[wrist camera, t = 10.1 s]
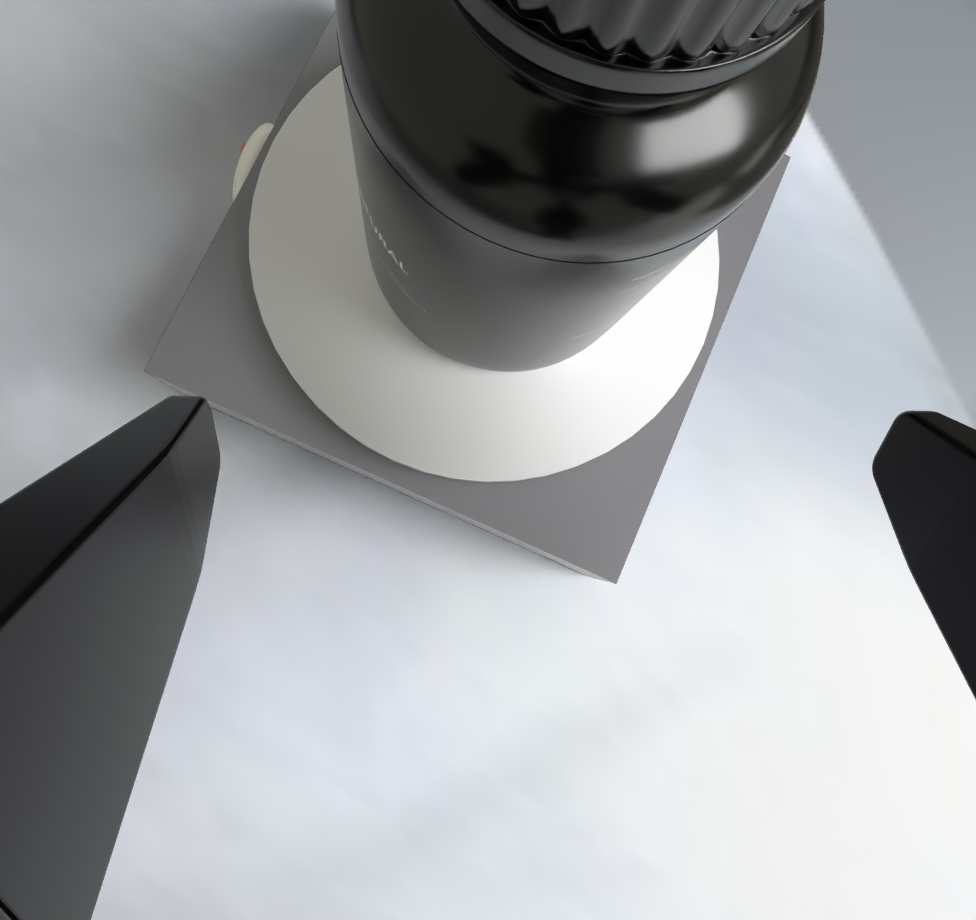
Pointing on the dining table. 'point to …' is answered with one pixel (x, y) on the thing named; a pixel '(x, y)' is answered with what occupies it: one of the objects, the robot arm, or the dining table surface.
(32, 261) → the dining table surface
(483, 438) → the kitchen scale
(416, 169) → the supplement bottle
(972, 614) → the robot arm
